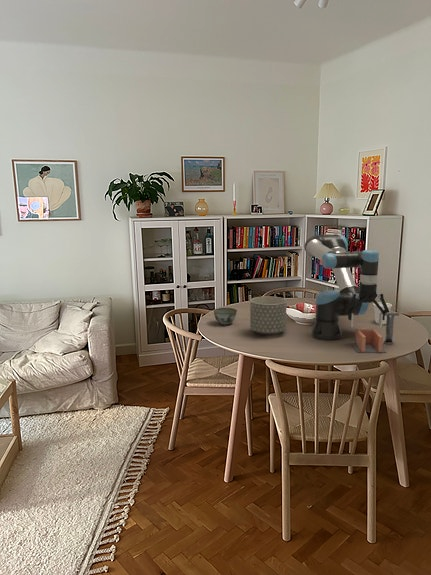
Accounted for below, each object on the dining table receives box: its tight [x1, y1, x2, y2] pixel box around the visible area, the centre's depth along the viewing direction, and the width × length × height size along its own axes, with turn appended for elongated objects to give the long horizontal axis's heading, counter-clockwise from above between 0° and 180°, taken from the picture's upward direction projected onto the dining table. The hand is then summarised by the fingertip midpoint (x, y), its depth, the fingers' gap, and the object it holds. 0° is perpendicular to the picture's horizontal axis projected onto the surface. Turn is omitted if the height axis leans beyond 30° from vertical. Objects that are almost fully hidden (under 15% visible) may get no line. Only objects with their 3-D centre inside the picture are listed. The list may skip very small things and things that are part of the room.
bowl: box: [213, 307, 238, 326], centre depth 244 cm, size 14×13×8 cm
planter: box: [249, 295, 288, 336], centre depth 223 cm, size 19×19×18 cm
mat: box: [350, 341, 387, 354], centre depth 199 cm, size 13×13×1 cm
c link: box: [354, 328, 384, 352], centre depth 198 cm, size 9×13×7 cm
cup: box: [372, 301, 393, 325], centre depth 238 cm, size 10×10×11 cm
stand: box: [383, 312, 400, 345], centre depth 204 cm, size 8×4×15 cm, turn 86°
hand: (365, 326), depth 202 cm, fingers open, 13 cm apart
